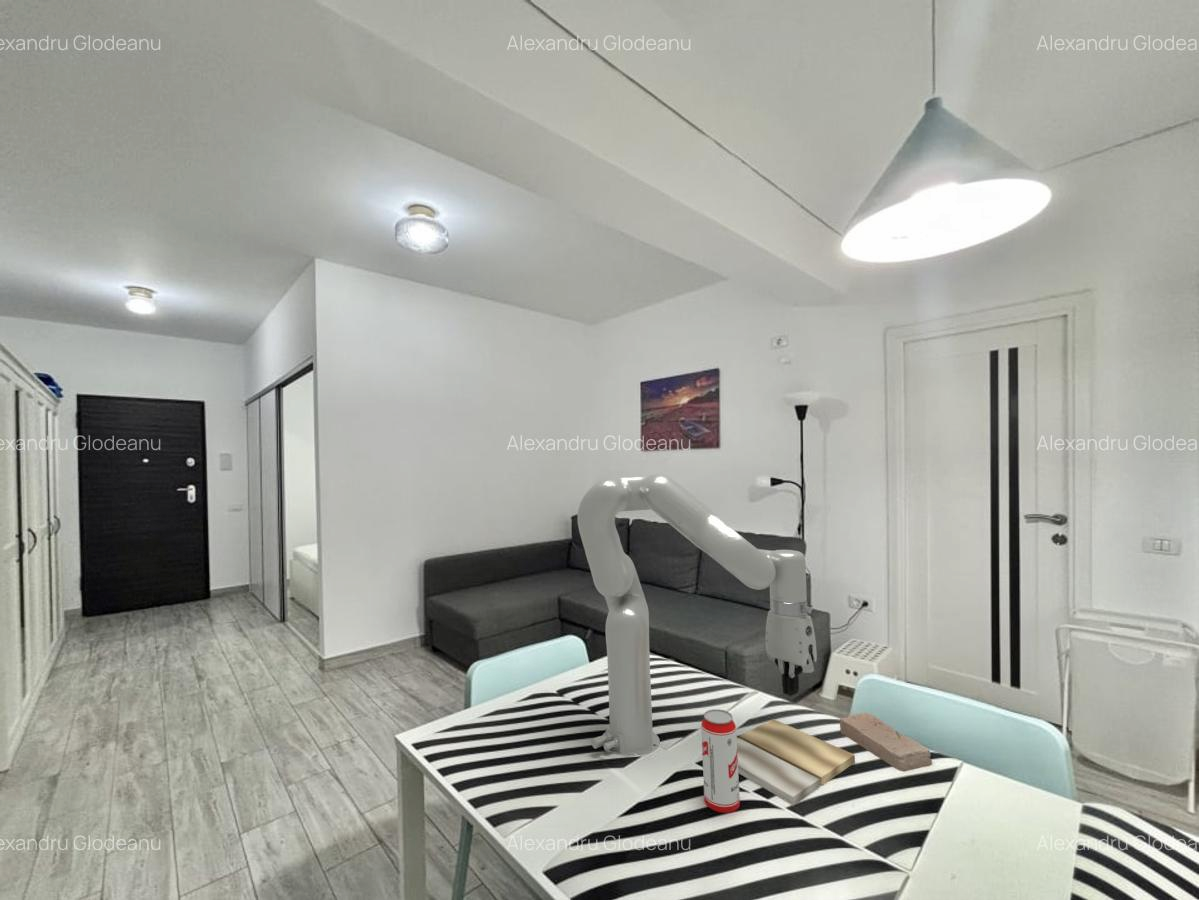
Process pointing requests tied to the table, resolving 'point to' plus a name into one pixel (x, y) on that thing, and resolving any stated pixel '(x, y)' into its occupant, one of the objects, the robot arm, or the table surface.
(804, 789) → the board
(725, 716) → the beer can
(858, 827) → the table surface
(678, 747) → the table surface
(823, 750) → the oak plank
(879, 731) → the brick
